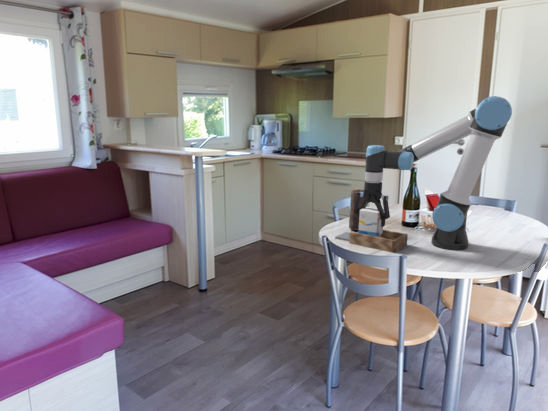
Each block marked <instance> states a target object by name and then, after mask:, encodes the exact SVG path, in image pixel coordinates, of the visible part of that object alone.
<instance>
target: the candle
mask: <svg viewBox="0 0 548 411" xmlns="http://www.w3.org/2000/svg"><path fill="white" fill-rule="evenodd" d="M359 192H364V189H352V190H351V191H350V201H349V202H350V206H349V218H348V220H349V221H348V228H349V229H350V230H351V231H359V222H358V221H357V220H358V215H357V214H356V213H354V209H355V205H356V202H357V198H358V197H357V193H359ZM364 200H365V197H364V195H363V197H362V201H361V205H360V208H361V206H362V204H363V203H364ZM359 210H360V209H359Z"/></svg>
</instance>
